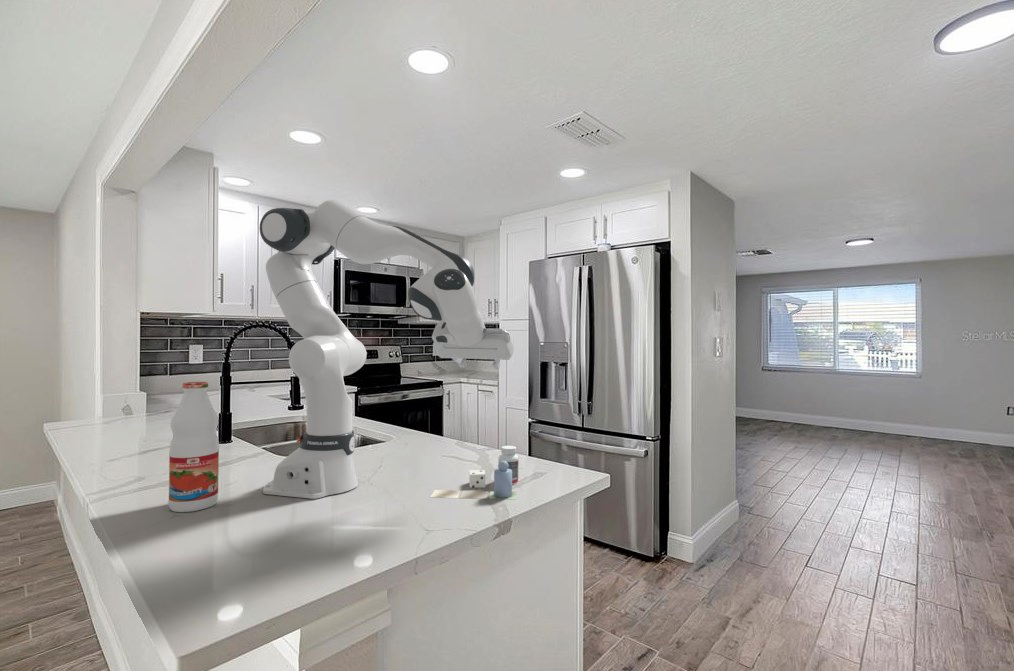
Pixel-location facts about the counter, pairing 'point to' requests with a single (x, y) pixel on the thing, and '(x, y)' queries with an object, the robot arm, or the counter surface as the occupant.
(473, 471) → the die
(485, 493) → the track
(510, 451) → the pill bottle
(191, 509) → the fruit juice
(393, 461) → the counter surface
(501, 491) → the pawn
